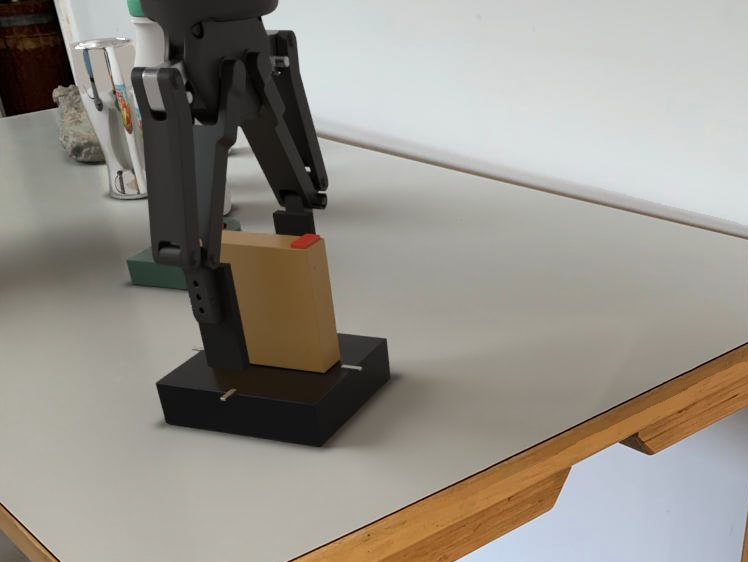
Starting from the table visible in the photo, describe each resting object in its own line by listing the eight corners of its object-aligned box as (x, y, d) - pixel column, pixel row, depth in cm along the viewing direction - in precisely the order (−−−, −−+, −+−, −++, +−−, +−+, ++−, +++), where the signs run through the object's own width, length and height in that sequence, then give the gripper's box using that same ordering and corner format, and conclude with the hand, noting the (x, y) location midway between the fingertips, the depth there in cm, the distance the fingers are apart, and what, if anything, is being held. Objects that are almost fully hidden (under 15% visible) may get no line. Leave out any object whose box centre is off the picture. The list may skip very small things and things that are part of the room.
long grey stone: (57, 180, 124) (138, 175, 127) (46, 134, 121) (130, 130, 123) (61, 110, 149) (128, 107, 152) (52, 71, 146) (121, 68, 148)
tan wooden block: (209, 358, 68) (181, 235, 62) (227, 345, 69) (202, 224, 64) (324, 373, 65) (305, 246, 60) (340, 359, 67) (324, 234, 62)
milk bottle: (232, 200, 109) (191, -14, 97) (233, 220, 103) (190, -5, 91) (161, 207, 108) (111, -8, 95) (158, 227, 102) (105, 1, 90)
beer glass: (136, 203, 110) (98, 49, 100) (93, 196, 113) (53, 46, 103) (180, 187, 114) (148, 38, 105) (139, 181, 117) (104, 35, 108)
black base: (148, 429, 66) (136, 386, 64) (249, 353, 76) (241, 313, 74) (321, 456, 62) (314, 411, 60) (404, 372, 72) (401, 330, 70)
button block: (132, 284, 89) (120, 238, 87) (187, 252, 96) (178, 209, 93) (236, 294, 86) (226, 248, 83) (286, 261, 92) (279, 217, 90)
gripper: (128, -52, 43) (230, 415, 57) (353, -88, 59) (389, 284, 73) (-7, -49, 45) (123, 399, 59) (245, -85, 61) (301, 275, 75)
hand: (270, 335), depth 66 cm, fingers open, 10 cm apart
